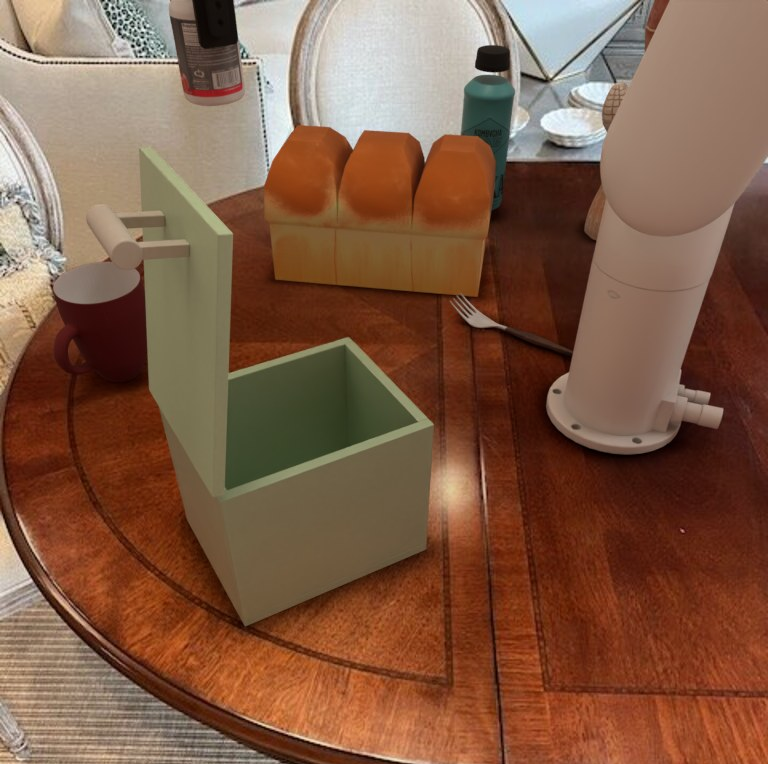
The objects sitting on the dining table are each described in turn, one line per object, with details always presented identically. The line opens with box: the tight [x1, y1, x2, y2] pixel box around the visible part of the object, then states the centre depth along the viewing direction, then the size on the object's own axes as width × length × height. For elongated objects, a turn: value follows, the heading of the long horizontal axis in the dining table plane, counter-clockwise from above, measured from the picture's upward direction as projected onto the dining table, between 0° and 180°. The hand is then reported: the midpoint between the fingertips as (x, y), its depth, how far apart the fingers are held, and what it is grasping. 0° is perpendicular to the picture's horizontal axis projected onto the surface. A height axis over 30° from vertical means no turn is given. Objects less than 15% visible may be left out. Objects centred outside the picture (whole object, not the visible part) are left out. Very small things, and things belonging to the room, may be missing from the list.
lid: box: [85, 146, 234, 497], centre depth 46 cm, size 16×13×5 cm
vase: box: [583, 0, 670, 241], centre depth 92 cm, size 10×7×30 cm
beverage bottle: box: [459, 44, 516, 211], centre depth 99 cm, size 6×7×20 cm
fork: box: [448, 293, 574, 357], centre depth 84 cm, size 3×16×2 cm, turn 53°
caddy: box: [158, 336, 435, 627], centre depth 59 cm, size 16×13×13 cm
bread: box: [263, 124, 496, 298], centre depth 91 cm, size 25×12×15 cm, turn 81°
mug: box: [52, 261, 148, 383], centre depth 75 cm, size 11×8×10 cm
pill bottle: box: [168, 0, 246, 107], centre depth 66 cm, size 5×5×10 cm
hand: (205, 34), depth 66 cm, fingers closed on pill bottle, 5 cm apart
